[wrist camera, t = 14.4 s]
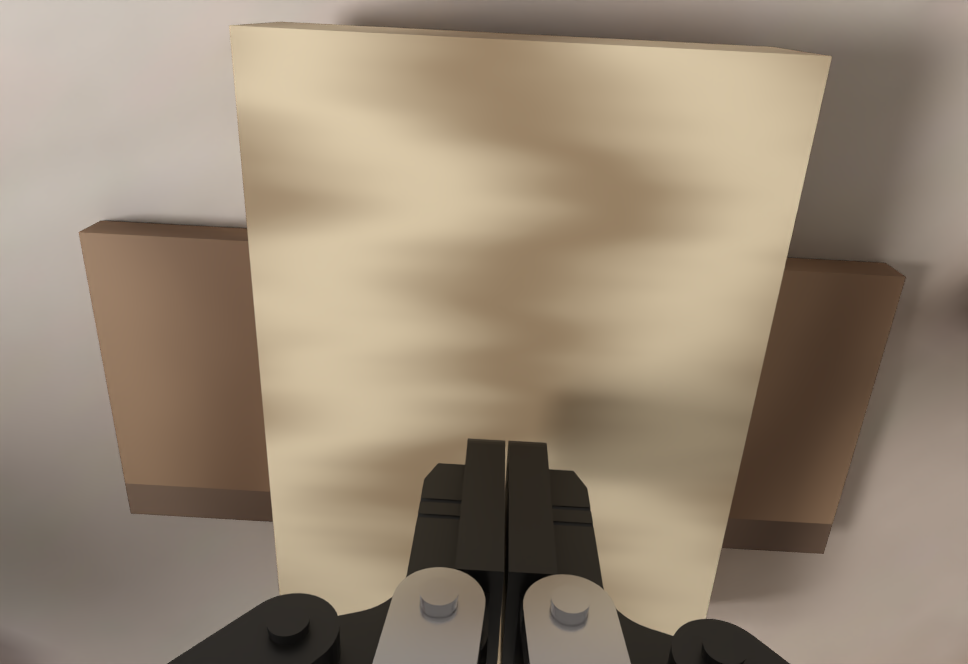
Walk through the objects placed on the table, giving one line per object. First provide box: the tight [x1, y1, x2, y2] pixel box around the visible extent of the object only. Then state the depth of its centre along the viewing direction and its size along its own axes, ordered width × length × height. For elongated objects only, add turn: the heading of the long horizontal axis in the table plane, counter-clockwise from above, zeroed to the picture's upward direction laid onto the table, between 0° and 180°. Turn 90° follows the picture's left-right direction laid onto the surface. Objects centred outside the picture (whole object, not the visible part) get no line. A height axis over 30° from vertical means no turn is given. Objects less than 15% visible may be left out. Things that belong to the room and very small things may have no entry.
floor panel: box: [79, 221, 906, 554], centre depth 19 cm, size 19×8×1 cm, turn 87°
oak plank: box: [229, 22, 832, 664], centre depth 17 cm, size 10×3×16 cm
